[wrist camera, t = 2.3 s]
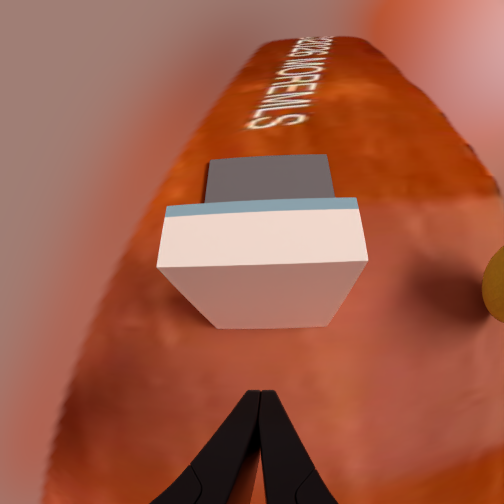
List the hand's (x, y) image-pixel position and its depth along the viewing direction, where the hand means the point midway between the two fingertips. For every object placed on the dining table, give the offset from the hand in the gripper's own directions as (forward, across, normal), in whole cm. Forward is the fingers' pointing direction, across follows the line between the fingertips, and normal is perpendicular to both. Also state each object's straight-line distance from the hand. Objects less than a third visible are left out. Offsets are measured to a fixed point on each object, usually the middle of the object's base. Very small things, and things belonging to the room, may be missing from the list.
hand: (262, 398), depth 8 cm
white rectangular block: (+10, 0, +3) cm, 11 cm away
